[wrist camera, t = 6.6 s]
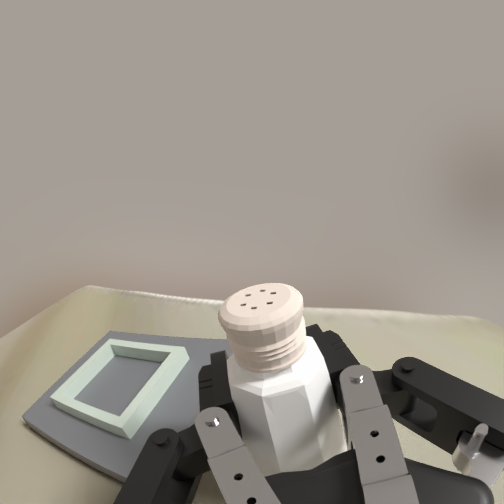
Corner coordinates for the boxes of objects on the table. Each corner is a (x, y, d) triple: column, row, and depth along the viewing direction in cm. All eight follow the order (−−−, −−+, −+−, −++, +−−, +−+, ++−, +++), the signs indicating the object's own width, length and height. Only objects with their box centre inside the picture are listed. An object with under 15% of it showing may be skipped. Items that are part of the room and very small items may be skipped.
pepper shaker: (263, 430, 17) (212, 270, 13) (353, 430, 15) (342, 256, 12) (239, 504, 12) (147, 349, 8) (346, 511, 10) (343, 349, 7)
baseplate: (31, 428, 18) (13, 406, 17) (115, 342, 31) (105, 321, 30) (160, 498, 13) (139, 477, 12) (242, 354, 25) (234, 327, 24)
